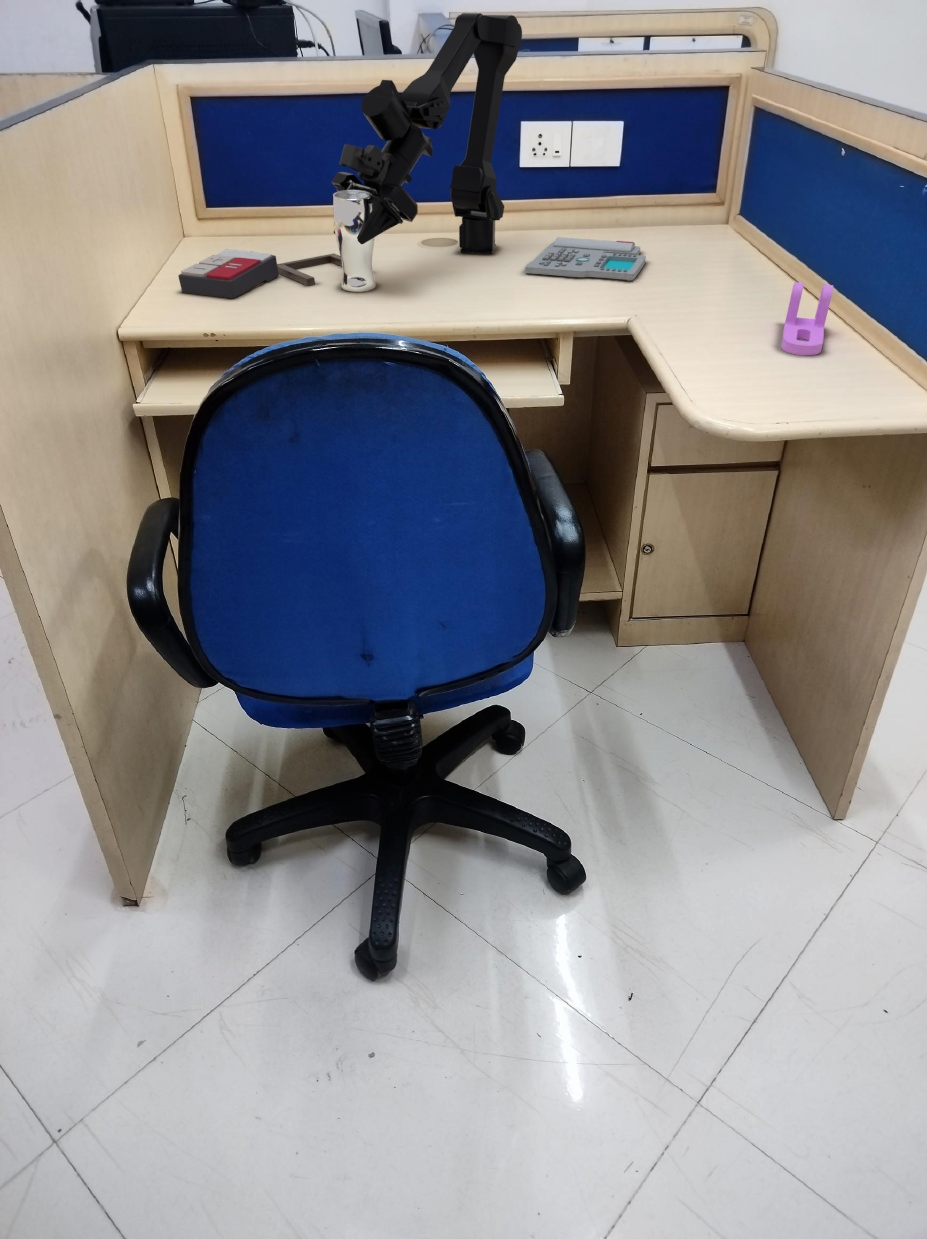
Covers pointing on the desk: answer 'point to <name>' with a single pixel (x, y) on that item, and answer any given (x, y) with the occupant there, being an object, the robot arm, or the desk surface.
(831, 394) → the desk surface
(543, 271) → the office telephone
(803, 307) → the desk surface
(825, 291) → the bracket
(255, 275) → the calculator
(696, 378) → the desk surface
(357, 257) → the beer glass
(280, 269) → the frame
